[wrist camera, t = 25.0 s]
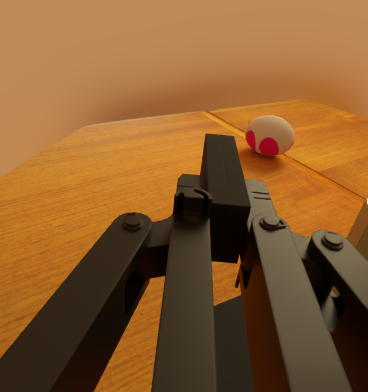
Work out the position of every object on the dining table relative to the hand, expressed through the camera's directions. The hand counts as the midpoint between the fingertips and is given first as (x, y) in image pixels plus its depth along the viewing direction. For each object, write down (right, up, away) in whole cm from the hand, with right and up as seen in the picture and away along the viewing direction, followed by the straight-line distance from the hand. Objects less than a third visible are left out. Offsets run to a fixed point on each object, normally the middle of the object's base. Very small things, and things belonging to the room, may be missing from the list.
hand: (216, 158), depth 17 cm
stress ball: (+10, +4, +31) cm, 33 cm away
